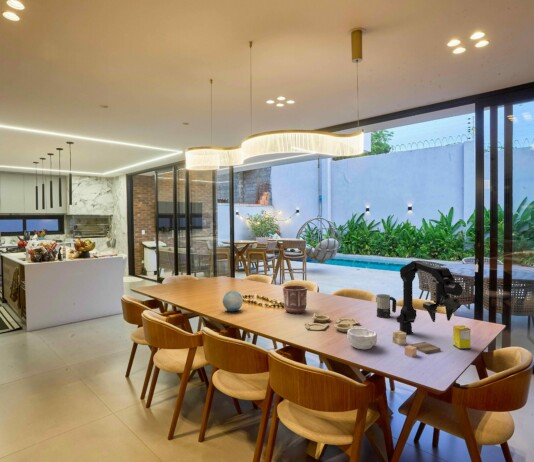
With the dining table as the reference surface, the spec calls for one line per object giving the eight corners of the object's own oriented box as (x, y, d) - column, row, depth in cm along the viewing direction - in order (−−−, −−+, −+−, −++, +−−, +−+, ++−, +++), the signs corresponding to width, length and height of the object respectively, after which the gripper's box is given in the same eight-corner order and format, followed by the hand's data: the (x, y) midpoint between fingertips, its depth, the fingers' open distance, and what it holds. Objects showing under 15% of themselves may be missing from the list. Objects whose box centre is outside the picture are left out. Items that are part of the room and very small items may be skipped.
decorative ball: (245, 308, 262) (244, 289, 261) (240, 314, 247) (239, 293, 246) (226, 308, 264) (226, 288, 264) (220, 313, 249) (220, 292, 249)
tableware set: (360, 321, 229) (360, 315, 229) (360, 335, 200) (360, 328, 200) (308, 317, 238) (308, 311, 238) (301, 330, 210) (301, 324, 210)
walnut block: (410, 348, 180) (410, 344, 180) (424, 345, 184) (424, 341, 184) (425, 354, 171) (425, 350, 171) (440, 351, 175) (440, 348, 175)
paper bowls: (381, 345, 182) (381, 331, 182) (368, 354, 171) (369, 338, 171) (355, 339, 193) (355, 325, 192) (341, 347, 181) (341, 332, 181)
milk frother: (382, 318, 232) (382, 297, 232) (367, 313, 246) (367, 292, 246) (398, 316, 238) (398, 295, 237) (382, 311, 252) (382, 291, 252)
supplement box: (463, 345, 182) (463, 325, 182) (470, 349, 176) (470, 328, 176) (452, 345, 182) (452, 325, 182) (459, 349, 176) (459, 328, 176)
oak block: (392, 342, 188) (392, 331, 188) (399, 341, 190) (399, 330, 189) (399, 345, 183) (399, 334, 183) (406, 343, 185) (406, 333, 185)
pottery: (301, 307, 264) (300, 284, 263) (311, 313, 247) (310, 288, 247) (279, 309, 258) (279, 286, 258) (288, 315, 242) (288, 290, 241)
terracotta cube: (404, 354, 170) (404, 346, 170) (409, 352, 173) (409, 345, 173) (412, 357, 167) (412, 349, 167) (416, 355, 169) (416, 347, 169)
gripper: (438, 296, 167) (437, 327, 168) (469, 294, 172) (468, 324, 173) (422, 291, 178) (421, 321, 179) (451, 289, 183) (451, 318, 183)
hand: (441, 321), depth 178 cm, fingers open, 9 cm apart
